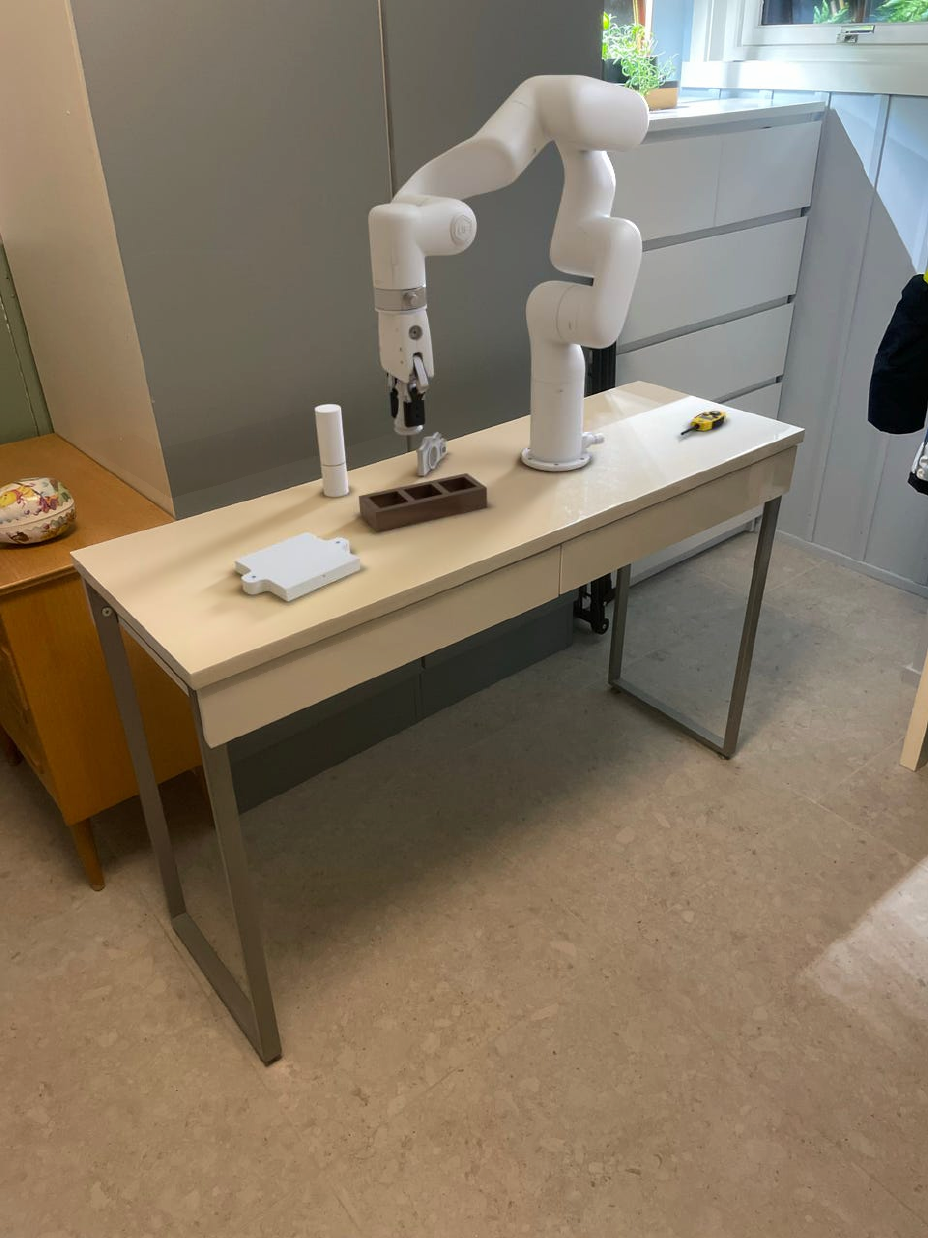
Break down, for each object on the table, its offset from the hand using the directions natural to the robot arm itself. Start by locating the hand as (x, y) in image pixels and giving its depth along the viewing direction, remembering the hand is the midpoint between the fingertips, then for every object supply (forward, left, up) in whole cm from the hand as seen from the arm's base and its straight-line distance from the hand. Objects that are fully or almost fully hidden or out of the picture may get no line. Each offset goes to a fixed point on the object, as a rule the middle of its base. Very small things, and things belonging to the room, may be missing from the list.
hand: (408, 419), depth 142 cm
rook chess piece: (0, 0, -2) cm, 2 cm away
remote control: (-68, -11, -17) cm, 71 cm away
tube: (+7, -17, -17) cm, 25 cm away
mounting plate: (+22, +8, -17) cm, 29 cm away
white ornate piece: (-13, -20, -17) cm, 29 cm away
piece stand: (-3, -2, -17) cm, 17 cm away
